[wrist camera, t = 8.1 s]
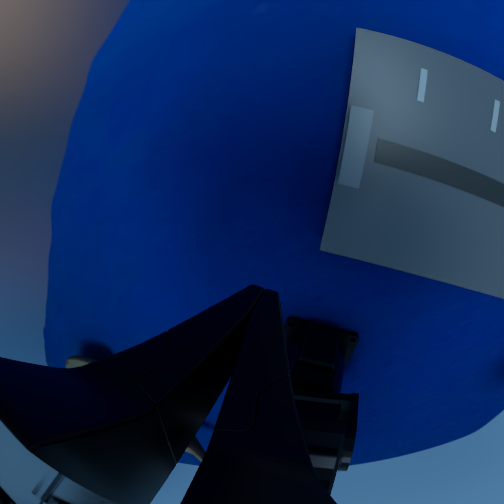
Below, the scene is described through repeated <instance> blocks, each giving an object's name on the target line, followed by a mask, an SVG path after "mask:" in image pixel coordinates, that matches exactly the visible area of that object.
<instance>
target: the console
mask: <svg viewBox="0 0 504 504" xmlns="http://www.w3.org/2000/svg"><path fill="white" fill-rule="evenodd" d="M320 250H322V251H326V252H330V253H334V254H338V255H342V256H346V257H350V258H354V259H357V260H361V261H365V262H369V263H373V264H377V265H381V266H385V267H389V268H392V269H396V270H400V271H404V272H408V273H412V274H415V275H419V276H423V277H427V278H430V279H434V280H438V281H441V282H445V283H449V284H453V285H456V286H460V287H463V288H467V289H471V290H474V291H478V292H481V293H485V294H489V295H492V296H496V297H499V298H503V299H504V81H503V80H501V79H499V78H497V77H496V76H494V75H492V74H490V73H488V72H486V71H484V70H482V69H480V68H478V67H476V66H474V65H471V64H469V63H467V62H465V61H462V60H460V59H458V58H455V57H453V56H451V55H448V54H446V53H443V52H440V51H438V50H435V49H432V48H429V47H427V46H424V45H421V44H418V43H415V42H411V41H408V40H405V39H401V38H398V37H394V36H391V35H387V34H383V33H379V32H374V31H370V30H365V29H361V28H356V39H355V49H354V59H353V67H352V76H351V84H350V91H349V98H348V105H347V112H346V119H345V125H344V131H343V137H342V143H341V149H340V155H339V160H338V166H337V171H336V176H335V181H334V186H333V191H332V196H331V201H330V206H329V211H328V215H327V220H326V224H325V229H324V233H323V238H322V242H321V246H320Z"/></svg>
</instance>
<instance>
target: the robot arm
mask: <svg viewBox="0 0 504 504" xmlns="http://www.w3.org/2000/svg"><path fill="white" fill-rule="evenodd" d="M290 322H292V323H293V324H292V323H290ZM352 338H354V339H352ZM358 340H359V336H358V334H357V333H354V332H350V331H346V330H342V329H338V328H334V327H329V326H325V325H321V324H317V323H314V322H310V321H306V320H302V319H298V318H294V317H289V318H287V320H286V322H285V326H284V325H283V318H282V311H281V304H280V297H279V293H278V292H277V291H273V290H270V289H264V288H263V287H260V286H257V285H253V284H252V285H250V286H248V287H246V288H244V289H242V290H241V291H239V292H237V293H235V294H233V295H232V296H230V297H228V298H226V299H224V300H223V301H221V302H219V303H217V304H215V305H213V306H212V307H210V308H208V309H206V310H204V311H202V312H201V313H199V314H197V315H195V316H193V317H191V318H189V319H188V320H186V321H184V322H182V323H180V324H178V325H176V326H174V327H173V328H171V329H169V330H168V331H167V332H166V331H165V332H163V333H161V334H159V335H157V336H155V337H153V338H151V339H149V340H147V341H145V342H143V343H141V344H139V345H136V346H134V347H131V348H129V349H126V350H124V351H121V352H119V353H116V354H113V355H111V356H108V357H105V358H103V359H100V360H97V361H94V362H92V363H89V364H86V365H83V366H79V367H74V368H56V367H49V366H43V365H37V364H32V363H26V362H21V361H16V360H11V359H7V358H2V357H0V504H150V503H151V501H152V500H153V498H154V497H155V495H156V494H157V493H158V491H159V490H160V488H161V487H162V485H163V484H164V482H165V481H166V479H167V478H168V476H169V475H170V473H171V472H172V470H173V469H174V467H175V466H176V464H177V463H178V461H179V460H180V458H181V457H182V455H183V453H184V452H185V450H186V449H187V447H188V446H189V444H190V443H191V441H192V439H193V438H194V436H195V435H196V433H197V431H198V430H199V428H200V427H201V425H202V423H203V422H204V420H205V419H206V417H207V415H208V414H209V412H210V410H211V409H212V407H213V406H214V404H215V402H216V401H217V399H218V397H219V396H220V394H221V392H222V391H223V389H224V387H225V386H226V384H227V382H228V381H229V379H230V377H231V379H230V382H229V385H228V388H227V391H226V395H225V398H224V401H223V404H222V407H221V410H220V413H219V416H218V419H217V422H216V425H215V428H214V432H213V434H212V437H211V440H210V443H209V446H208V448H207V451H206V453H205V455H204V457H203V460H202V462H201V464H200V466H199V468H198V470H197V472H196V474H195V476H194V478H193V480H192V482H191V484H190V486H189V488H188V490H187V492H186V494H185V496H184V498H183V500H182V502H181V503H180V504H337V503H336V502H335V501H334V500H333V498H332V497H331V496H330V494H331V490H332V487H333V483H334V480H335V476H336V472H337V470H338V471H347V469H348V466H349V464H350V460H351V456H352V452H353V448H354V443H355V437H356V429H357V416H358V399H359V393H352V394H344V393H340V392H341V386H342V379H343V372H344V368H345V366H346V364H347V362H348V360H349V359H350V357H351V355H352V353H353V351H354V349H355V347H356V345H357V343H358ZM231 375H232V376H231Z"/></svg>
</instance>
